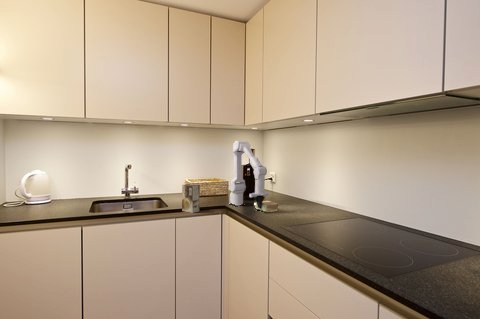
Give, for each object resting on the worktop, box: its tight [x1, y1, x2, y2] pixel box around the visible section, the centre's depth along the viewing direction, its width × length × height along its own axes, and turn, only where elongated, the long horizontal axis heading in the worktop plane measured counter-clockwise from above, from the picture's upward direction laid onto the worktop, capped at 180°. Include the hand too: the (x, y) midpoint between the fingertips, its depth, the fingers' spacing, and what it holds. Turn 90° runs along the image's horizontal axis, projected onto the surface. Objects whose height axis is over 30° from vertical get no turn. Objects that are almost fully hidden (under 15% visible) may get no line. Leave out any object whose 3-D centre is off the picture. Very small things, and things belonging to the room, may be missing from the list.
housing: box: [262, 200, 279, 211], centre depth 175 cm, size 10×9×5 cm
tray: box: [254, 203, 267, 211], centre depth 174 cm, size 10×9×4 cm
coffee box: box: [181, 183, 201, 214], centre depth 169 cm, size 9×6×16 cm
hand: (259, 208), depth 171 cm, fingers closed
